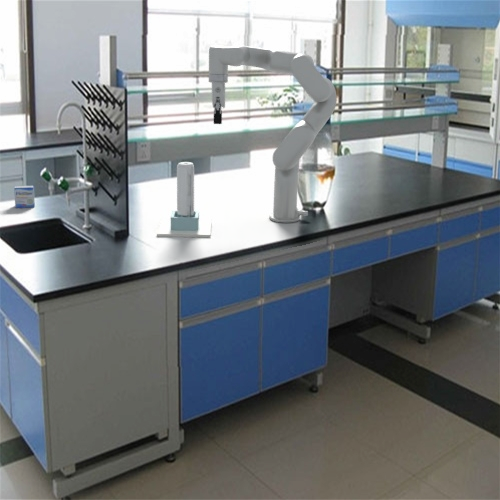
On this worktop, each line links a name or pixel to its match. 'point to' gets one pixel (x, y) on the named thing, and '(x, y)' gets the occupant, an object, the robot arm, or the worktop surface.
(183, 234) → the holder
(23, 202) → the medicine box
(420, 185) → the worktop surface
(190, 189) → the white cylinder
